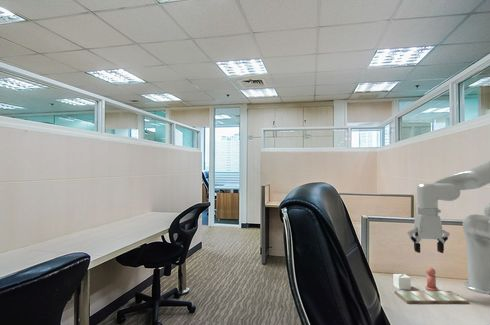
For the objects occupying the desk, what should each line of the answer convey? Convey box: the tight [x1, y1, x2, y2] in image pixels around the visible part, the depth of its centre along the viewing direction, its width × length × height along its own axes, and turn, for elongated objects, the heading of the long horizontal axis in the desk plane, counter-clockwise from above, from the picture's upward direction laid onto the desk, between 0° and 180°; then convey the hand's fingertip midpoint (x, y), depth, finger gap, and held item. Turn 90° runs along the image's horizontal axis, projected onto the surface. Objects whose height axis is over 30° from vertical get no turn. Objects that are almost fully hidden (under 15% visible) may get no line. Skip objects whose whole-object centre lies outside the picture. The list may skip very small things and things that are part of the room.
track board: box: [394, 290, 469, 305], centre depth 117 cm, size 23×10×1 cm, turn 88°
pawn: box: [425, 267, 439, 291], centre depth 126 cm, size 4×4×9 cm
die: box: [392, 273, 412, 290], centre depth 129 cm, size 5×5×5 cm
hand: (429, 252), depth 127 cm, fingers open, 9 cm apart
